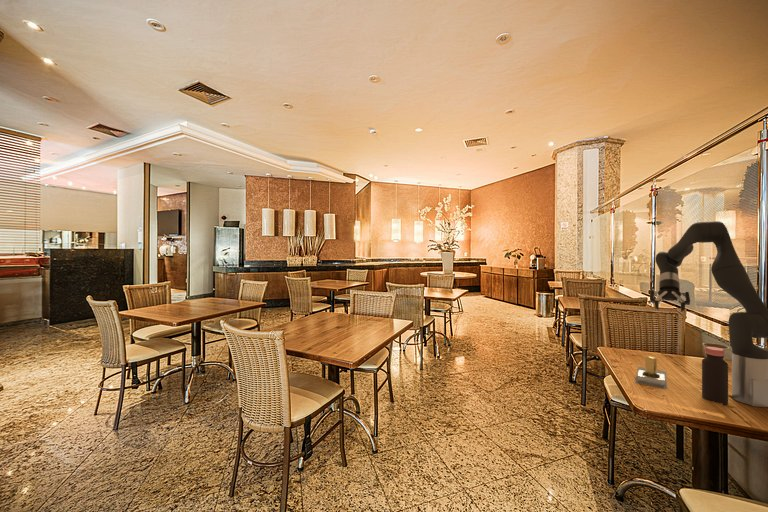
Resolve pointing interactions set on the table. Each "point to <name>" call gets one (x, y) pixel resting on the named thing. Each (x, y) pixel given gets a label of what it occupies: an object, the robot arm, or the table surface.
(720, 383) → the bottle
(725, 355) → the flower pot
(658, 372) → the grey base plate
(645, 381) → the collar
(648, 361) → the pin
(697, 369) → the table surface
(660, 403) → the table surface
